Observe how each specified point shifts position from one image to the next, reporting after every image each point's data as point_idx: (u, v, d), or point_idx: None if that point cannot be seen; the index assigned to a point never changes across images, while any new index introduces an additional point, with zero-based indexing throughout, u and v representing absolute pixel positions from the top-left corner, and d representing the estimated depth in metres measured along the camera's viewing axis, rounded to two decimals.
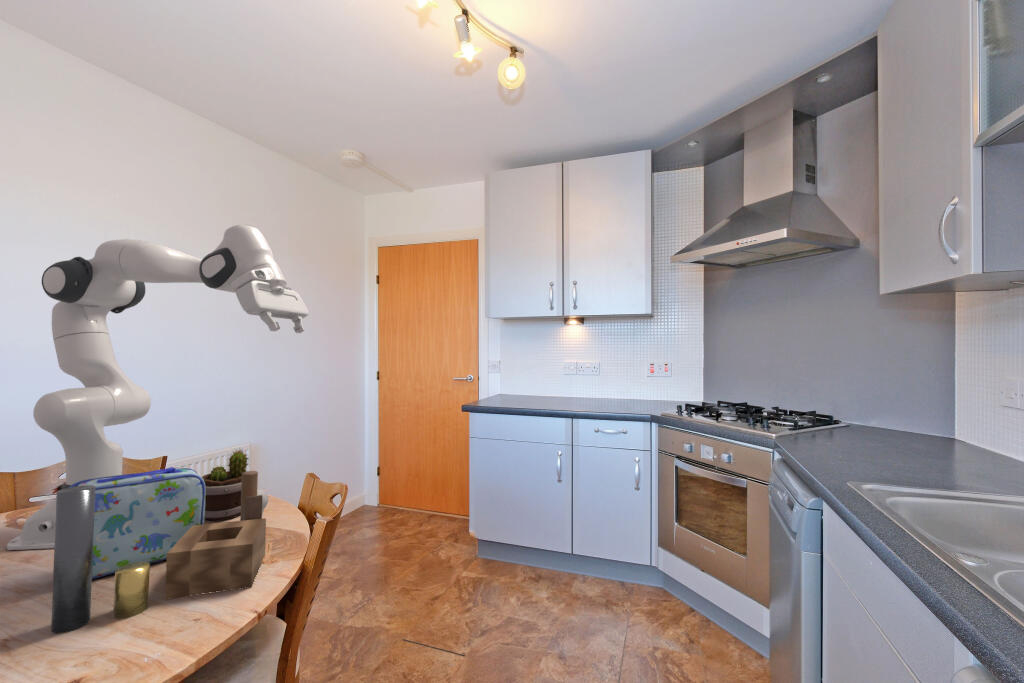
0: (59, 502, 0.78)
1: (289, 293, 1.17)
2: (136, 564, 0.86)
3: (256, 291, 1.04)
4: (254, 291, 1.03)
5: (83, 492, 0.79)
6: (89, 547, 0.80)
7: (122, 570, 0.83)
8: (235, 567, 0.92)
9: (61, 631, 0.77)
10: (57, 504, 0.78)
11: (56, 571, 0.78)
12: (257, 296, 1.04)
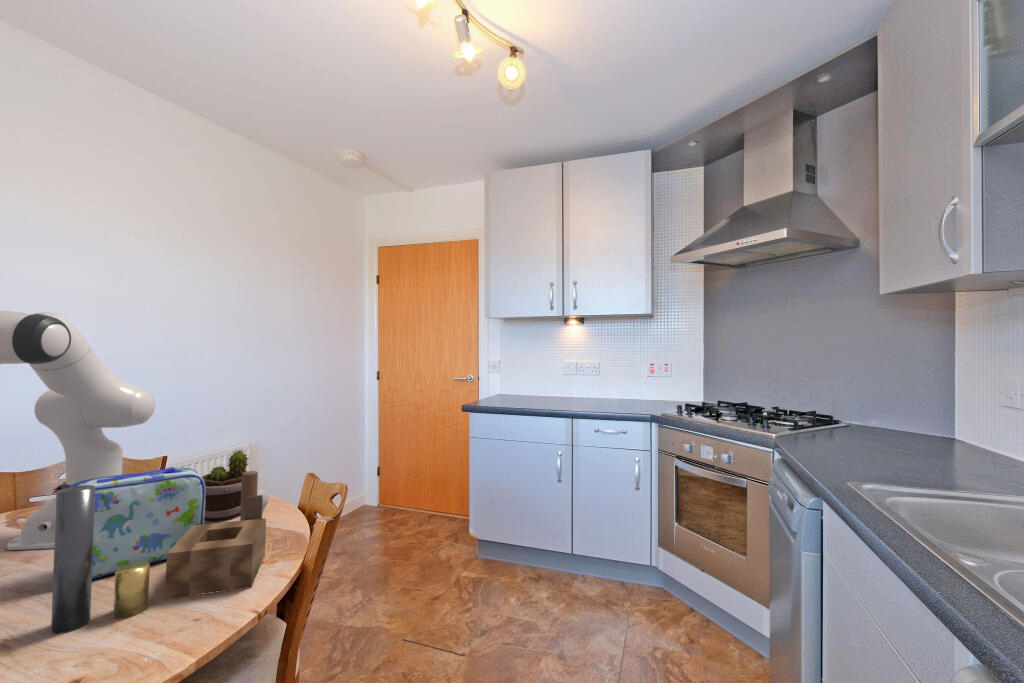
0: (59, 502, 0.78)
1: None
2: (136, 564, 0.86)
3: None
4: None
5: (83, 492, 0.79)
6: (88, 547, 0.80)
7: (122, 570, 0.83)
8: (235, 567, 0.92)
9: (61, 631, 0.77)
10: (57, 504, 0.78)
11: (56, 571, 0.78)
12: None
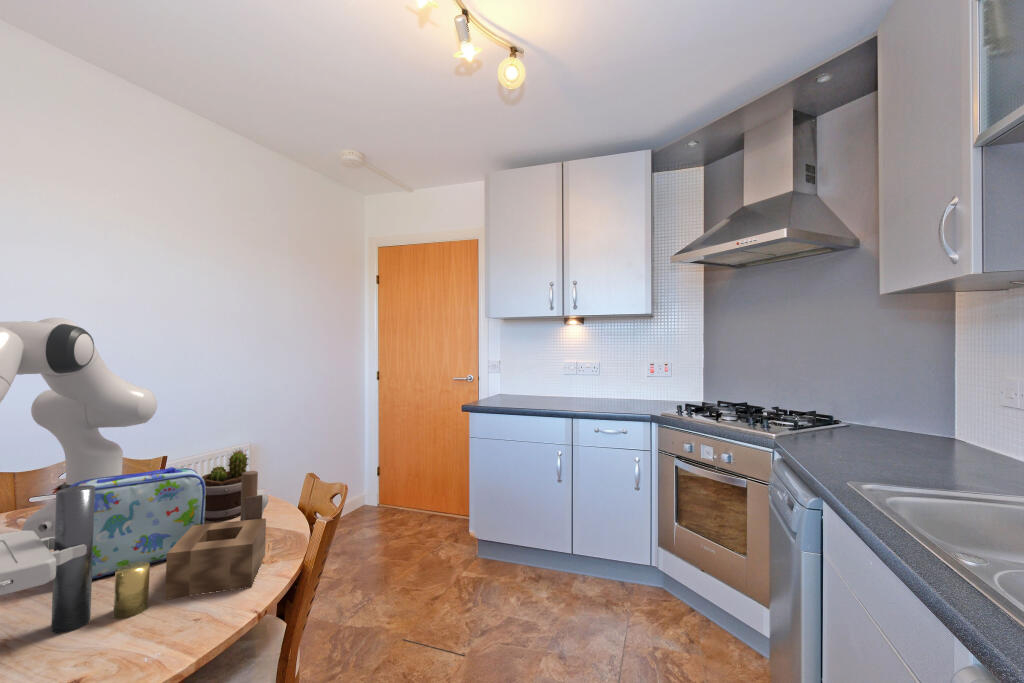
0: (59, 502, 0.78)
1: None
2: (136, 564, 0.86)
3: None
4: None
5: (83, 492, 0.79)
6: (88, 547, 0.80)
7: (122, 570, 0.83)
8: (235, 567, 0.92)
9: (61, 631, 0.77)
10: (57, 504, 0.78)
11: (56, 571, 0.78)
12: None
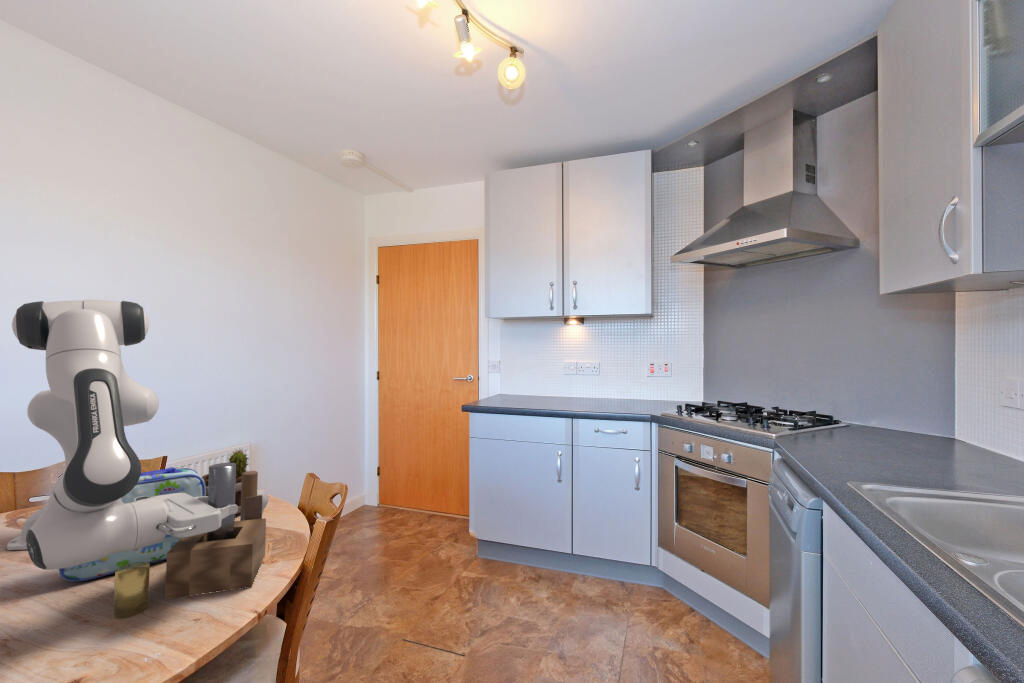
0: (212, 475, 0.96)
1: None
2: (136, 564, 0.86)
3: None
4: None
5: (229, 467, 0.97)
6: None
7: (122, 570, 0.83)
8: (235, 567, 0.92)
9: None
10: (210, 477, 0.96)
11: None
12: None
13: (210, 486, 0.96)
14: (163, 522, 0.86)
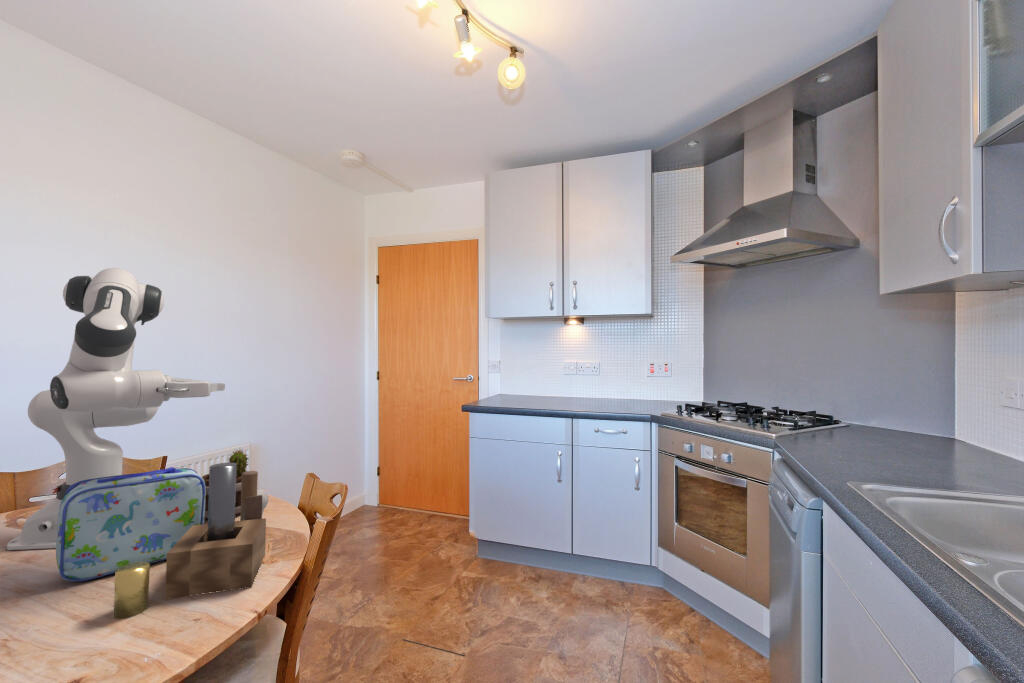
0: (213, 475, 0.96)
1: None
2: (136, 564, 0.86)
3: None
4: None
5: (230, 467, 0.97)
6: (233, 512, 0.98)
7: (122, 570, 0.83)
8: (235, 567, 0.92)
9: None
10: (211, 477, 0.96)
11: (211, 531, 0.96)
12: None
13: (211, 486, 0.96)
14: (162, 386, 1.04)
